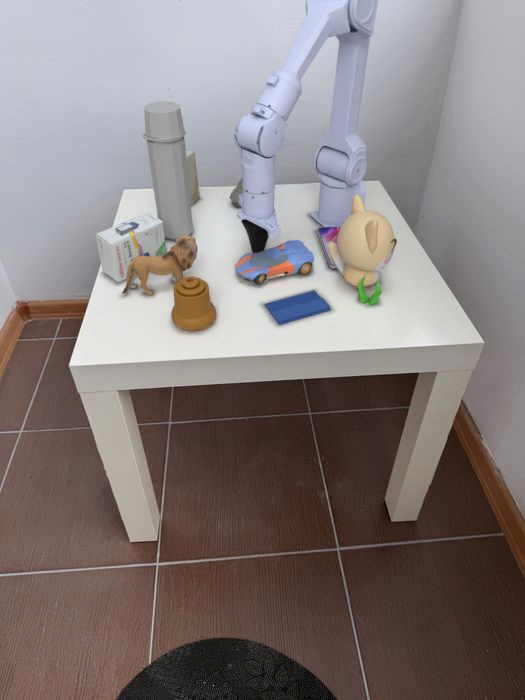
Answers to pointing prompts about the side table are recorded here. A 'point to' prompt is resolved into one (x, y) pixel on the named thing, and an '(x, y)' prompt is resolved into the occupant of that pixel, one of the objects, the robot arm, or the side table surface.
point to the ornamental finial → (192, 304)
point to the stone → (236, 194)
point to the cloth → (297, 307)
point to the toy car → (276, 262)
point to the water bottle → (169, 167)
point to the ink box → (130, 244)
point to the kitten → (363, 248)
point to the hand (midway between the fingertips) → (258, 253)
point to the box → (192, 176)
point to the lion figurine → (163, 263)
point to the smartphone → (329, 236)
